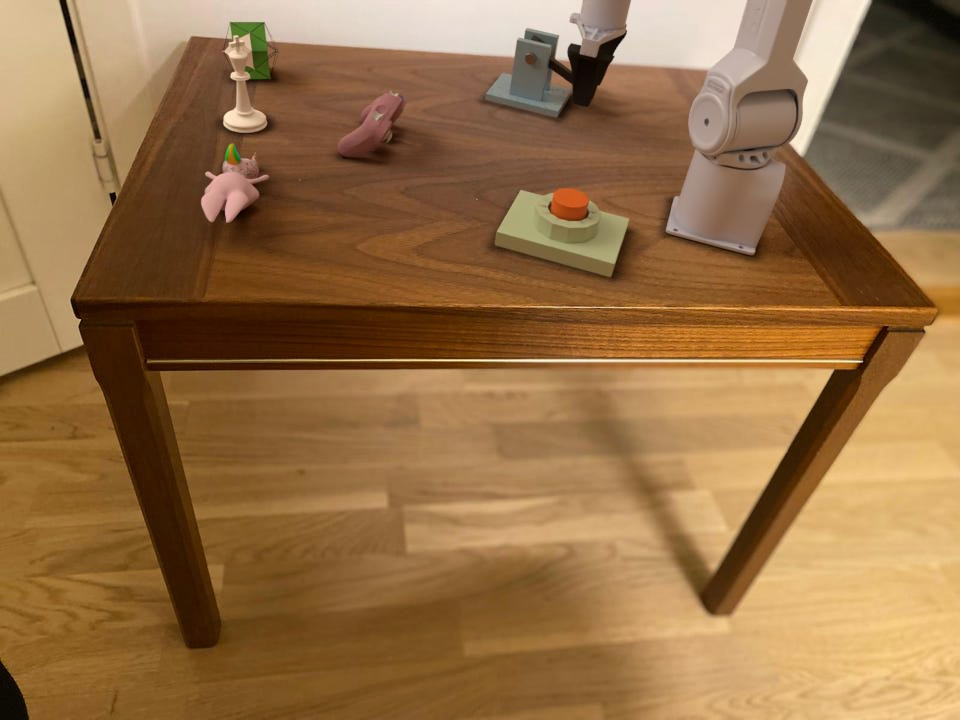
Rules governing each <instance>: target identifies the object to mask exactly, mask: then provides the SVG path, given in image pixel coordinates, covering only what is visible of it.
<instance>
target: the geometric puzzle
mask: <svg viewBox="0 0 960 720" xmlns="http://www.w3.org/2000/svg"><path fill="white" fill-rule="evenodd" d="M228 26H229V27H228V28H227V33H226V37H225V40H224V45H223V47H222V50H221V52H222V53H223V55H224V56H225V59H226V61H227V63H228V64H229V66H230V69H231V70H232V72H235V70H234V68H233V66H232V64H231V63H230V60H228V57H229V53H230V52H232V51H235V48H230V47H229V45H228V46H227V47H226V48H225V46H226V43H227V37H228V34H229V29H230V33H231V42H234V39H233V36H235V35H237V36H239V41H241V40H243V41H245V46H240V51H243V52H245V53H247V55H248V57H247V61H246V67H245V70H244V71H245V72H247V73H249V75H250V79H249V80H272V76H273V71H274V69H275V65H276V63H277V62H276V60H277V59H278V55H279V52H280V50H279V49H278V45H276V42H275V40H274V39H273V36H272V34H271V32H270V30H269V28H268V26H267V24H266V21H229V24H228ZM266 30H267V34H268V35H269V37H270V40H271V42H272V45H271V44H270V43H267V35H266ZM268 47H269V48H270V49H272V50H273V51H272V53H270V54H269V50H268ZM227 56H228V57H227ZM272 57H274V60H273V61H274V62H273V63H272V66H273V67H272V69H271V68H270V61H269V59H270V58H272ZM270 69H271V70H270Z"/></svg>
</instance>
